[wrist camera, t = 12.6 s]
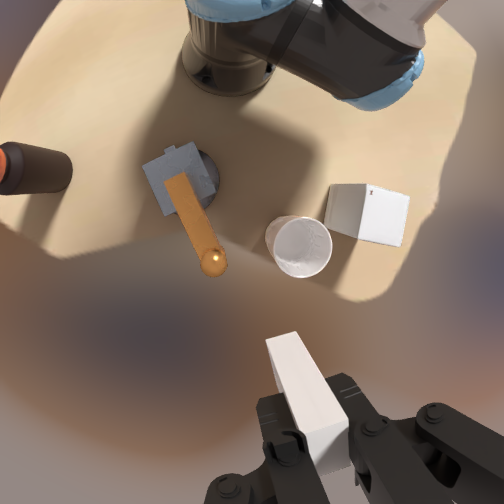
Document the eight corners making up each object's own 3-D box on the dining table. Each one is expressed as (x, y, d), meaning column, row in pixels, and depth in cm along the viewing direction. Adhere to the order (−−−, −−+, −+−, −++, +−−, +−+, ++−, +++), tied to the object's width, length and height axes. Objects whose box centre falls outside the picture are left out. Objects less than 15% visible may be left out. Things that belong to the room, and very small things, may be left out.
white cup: (316, 221, 49) (340, 228, 39) (299, 267, 50) (320, 285, 40) (270, 204, 48) (285, 208, 38) (254, 252, 49) (264, 268, 39)
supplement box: (321, 227, 49) (355, 239, 37) (330, 182, 48) (366, 181, 36) (360, 235, 50) (401, 249, 38) (368, 193, 49) (411, 195, 37)
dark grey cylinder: (147, 158, 44) (133, 151, 35) (210, 142, 45) (210, 130, 36) (162, 221, 46) (151, 228, 37) (225, 205, 47) (228, 208, 38)
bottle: (46, 198, 42) (-30, 206, 23) (37, 161, 41) (-39, 153, 21) (77, 183, 43) (6, 182, 23) (68, 145, 41) (-3, 126, 22)
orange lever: (196, 262, 45) (190, 289, 32) (148, 158, 41) (124, 147, 29) (238, 242, 45) (248, 262, 33) (191, 138, 41) (183, 117, 29)
